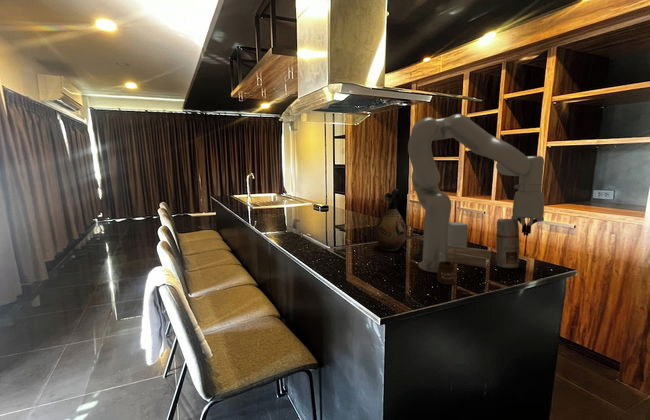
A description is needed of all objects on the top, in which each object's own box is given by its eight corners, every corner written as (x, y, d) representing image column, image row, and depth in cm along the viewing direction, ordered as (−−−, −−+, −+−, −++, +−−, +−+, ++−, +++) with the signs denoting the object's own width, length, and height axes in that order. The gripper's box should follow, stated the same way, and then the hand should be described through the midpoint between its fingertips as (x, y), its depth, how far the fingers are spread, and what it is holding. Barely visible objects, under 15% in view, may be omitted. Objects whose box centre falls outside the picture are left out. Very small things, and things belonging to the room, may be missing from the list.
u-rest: (485, 267, 128) (485, 258, 128) (430, 259, 141) (431, 250, 140) (490, 259, 139) (491, 250, 138) (439, 251, 152) (439, 243, 151)
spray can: (495, 267, 128) (497, 219, 125) (495, 262, 135) (496, 216, 133) (519, 270, 124) (522, 220, 121) (518, 264, 131) (520, 217, 129)
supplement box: (467, 250, 154) (468, 224, 152) (451, 250, 154) (452, 224, 153) (460, 246, 162) (462, 221, 160) (446, 246, 162) (447, 222, 160)
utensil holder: (434, 279, 117) (435, 247, 115) (450, 278, 117) (452, 247, 115) (441, 285, 111) (442, 252, 109) (458, 284, 111) (459, 251, 110)
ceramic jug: (398, 255, 148) (399, 191, 143) (369, 250, 157) (369, 190, 153) (412, 247, 161) (414, 188, 157) (385, 242, 170) (385, 187, 166)
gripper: (506, 188, 123) (503, 234, 126) (553, 190, 114) (548, 239, 117) (508, 187, 129) (505, 231, 132) (553, 188, 120) (549, 235, 123)
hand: (525, 234), depth 124 cm, fingers closed
